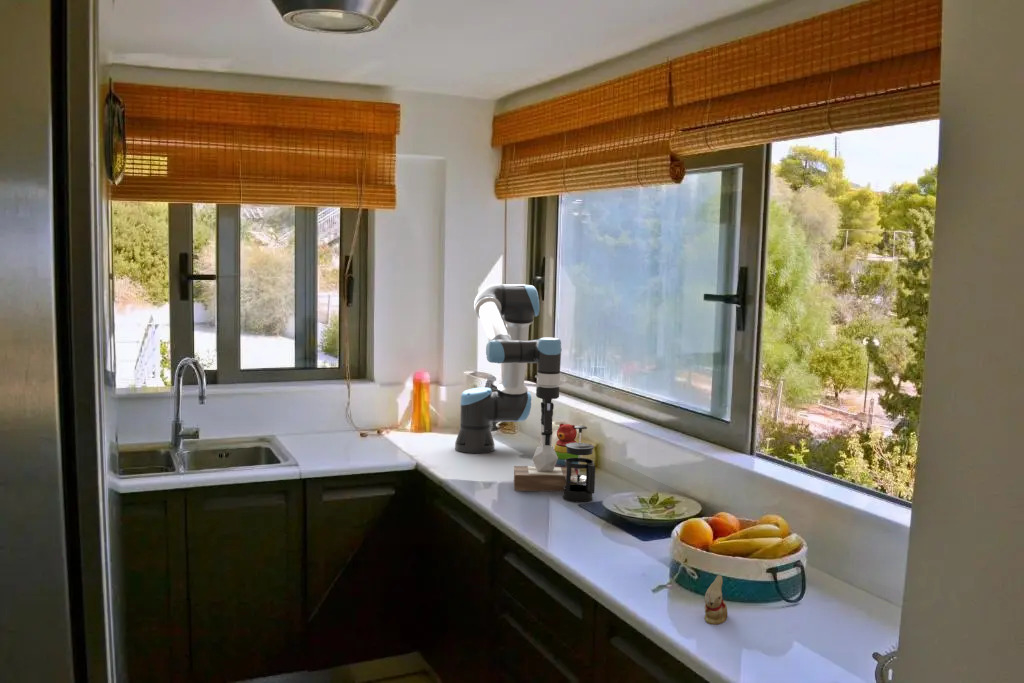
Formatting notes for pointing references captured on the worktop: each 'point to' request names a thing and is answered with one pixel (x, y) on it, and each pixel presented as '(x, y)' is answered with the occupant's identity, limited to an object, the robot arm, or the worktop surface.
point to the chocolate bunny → (715, 603)
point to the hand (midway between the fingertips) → (545, 449)
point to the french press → (577, 490)
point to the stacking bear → (565, 436)
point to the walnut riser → (540, 479)
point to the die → (544, 460)
